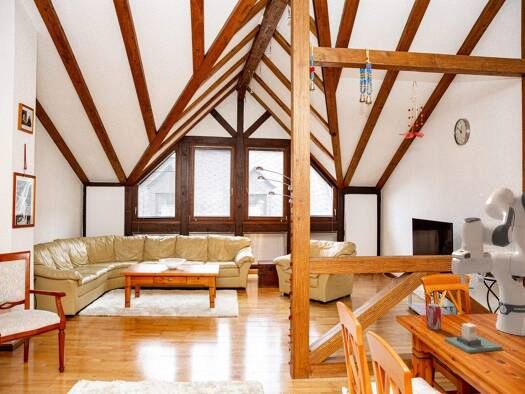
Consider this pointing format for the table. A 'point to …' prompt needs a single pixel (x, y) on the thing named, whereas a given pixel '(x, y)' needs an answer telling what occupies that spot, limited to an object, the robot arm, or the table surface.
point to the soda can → (433, 316)
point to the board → (473, 344)
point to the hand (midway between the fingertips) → (472, 282)
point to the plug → (469, 332)
